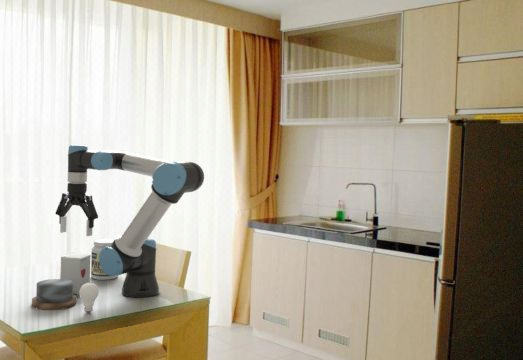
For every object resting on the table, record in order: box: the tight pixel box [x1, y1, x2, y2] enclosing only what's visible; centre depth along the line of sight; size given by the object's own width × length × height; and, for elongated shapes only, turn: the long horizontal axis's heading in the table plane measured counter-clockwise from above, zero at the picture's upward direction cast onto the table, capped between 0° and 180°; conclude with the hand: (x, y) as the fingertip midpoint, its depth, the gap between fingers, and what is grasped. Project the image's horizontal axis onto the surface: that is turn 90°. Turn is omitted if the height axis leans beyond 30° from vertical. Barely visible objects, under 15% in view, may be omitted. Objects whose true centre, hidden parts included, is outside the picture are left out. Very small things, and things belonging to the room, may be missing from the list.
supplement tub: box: [90, 238, 118, 281], centre depth 262 cm, size 12×12×17 cm
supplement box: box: [59, 252, 92, 295], centre depth 237 cm, size 9×9×15 cm
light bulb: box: [78, 282, 99, 314], centre depth 209 cm, size 7×7×11 cm
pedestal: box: [31, 278, 78, 311], centre depth 218 cm, size 16×16×8 cm
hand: (76, 234), depth 236 cm, fingers open, 13 cm apart
